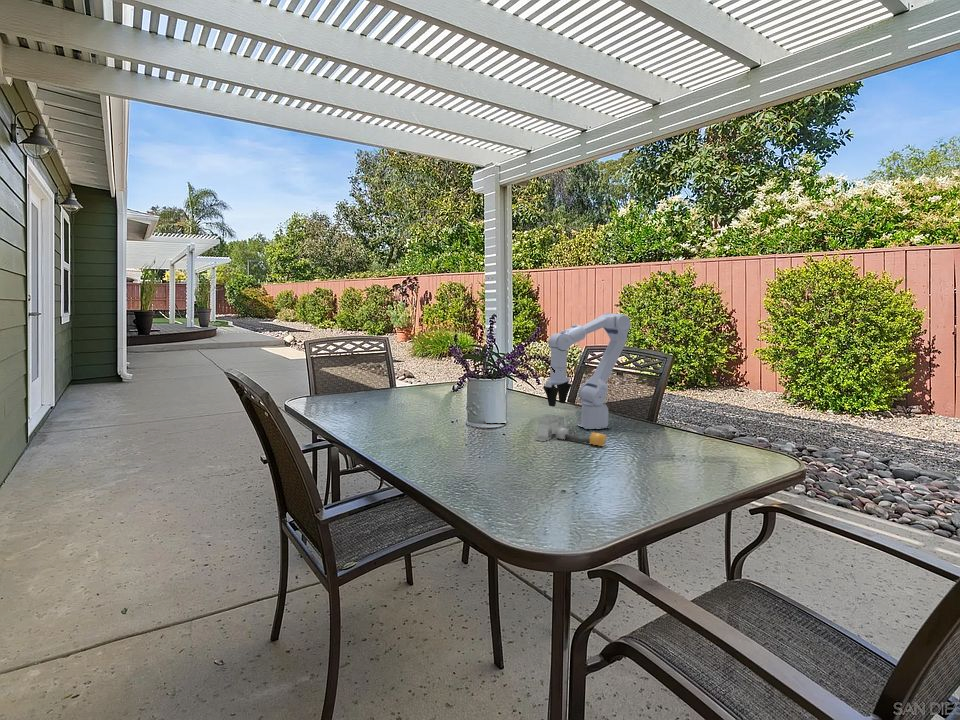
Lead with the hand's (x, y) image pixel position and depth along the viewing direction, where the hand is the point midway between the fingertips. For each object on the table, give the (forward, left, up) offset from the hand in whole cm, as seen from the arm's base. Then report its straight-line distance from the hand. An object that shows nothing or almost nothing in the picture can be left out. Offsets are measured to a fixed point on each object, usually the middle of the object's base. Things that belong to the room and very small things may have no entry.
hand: (557, 404), depth 198 cm
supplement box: (+17, -18, -10) cm, 27 cm away
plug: (-1, +16, -10) cm, 19 cm away
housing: (+5, +6, -10) cm, 13 cm away
